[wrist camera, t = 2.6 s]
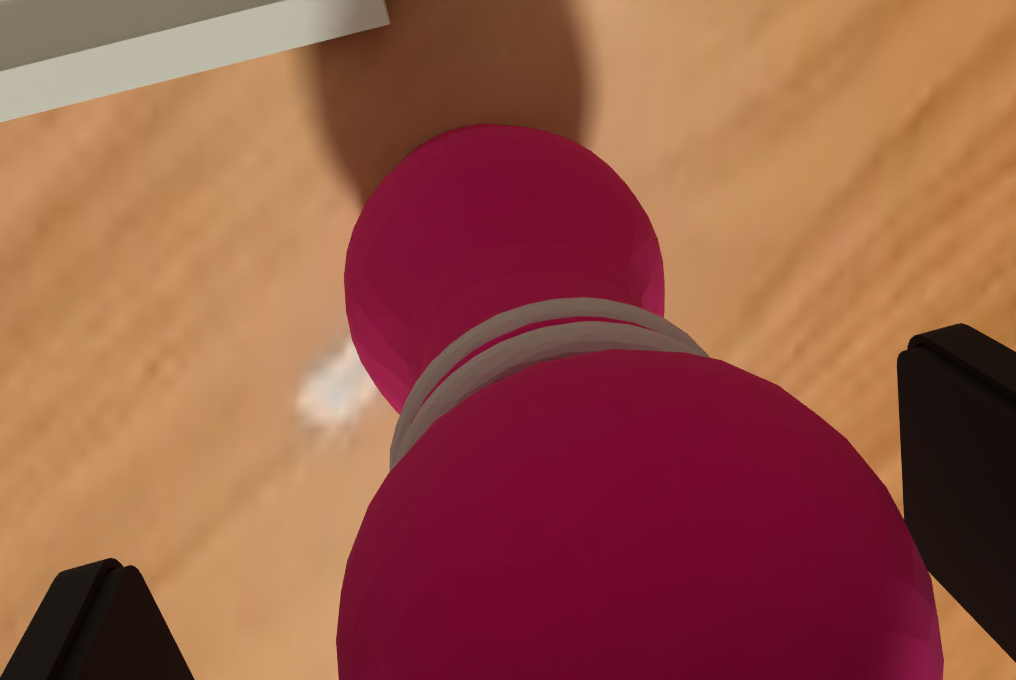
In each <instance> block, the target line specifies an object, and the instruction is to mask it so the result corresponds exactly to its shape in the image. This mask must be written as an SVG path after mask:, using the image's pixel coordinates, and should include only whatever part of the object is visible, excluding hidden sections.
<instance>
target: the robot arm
mask: <svg viewBox="0 0 1016 680" xmlns="http://www.w3.org/2000/svg"><path fill="white" fill-rule="evenodd" d="M897 377H898V398H899V419H900V440H901V461H902V482H903V503H904V521H905V523H906V525H907V527H908V529H909V532H910V534H911V536H912V538H913V540H914V542H915V545H916V547H917V549H918V551H919V553H920V555H921V558H922V560H923V562H924V564H925V566H926V568H927V570H928V571H929V572H930V573H931V575H932V576H933V577H934V578H935V579H936V580H937V581H938V582H939V583H940V584H941V585H942V586H943V587H944V588H945V589H946V590H947V591H948V592H949V593H950V594H951V595H952V596H953V597H954V599H955V600H956V601H957V602H958V603H959V604H960V605H961V606H962V607H963V608H964V609H965V610H966V611H967V612H968V613H969V614H970V615H971V616H972V617H973V618H974V619H975V620H976V622H977V623H978V624H979V625H980V626H981V627H982V628H983V629H984V630H985V631H986V632H987V633H988V634H989V635H990V636H991V637H992V638H993V639H994V640H995V641H996V642H997V643H998V644H999V646H1000V647H1001V648H1002V649H1003V650H1004V651H1005V652H1006V653H1007V654H1008V655H1009V656H1010V657H1011V658H1012V659H1013V660H1014V661H1015V662H1016V352H1015V351H1013V350H1011V349H1010V348H1008V347H1006V346H1004V345H1002V344H1001V343H999V342H997V341H995V340H994V339H992V338H990V337H988V336H986V335H985V334H983V333H981V332H979V331H977V330H976V329H974V328H972V327H970V326H968V325H965V324H962V323H960V324H955V325H951V326H948V327H944V328H940V329H937V330H933V331H929V332H926V333H922V334H919V335H915V336H913V337H912V338H911V339H910V341H909V344H908V348H907V350H905V351H902V352H901V353H900V354H899V356H898V359H897ZM0 680H194V678H193V676H192V674H191V672H190V670H189V668H188V666H187V664H186V662H185V660H184V658H183V656H182V654H181V652H180V650H179V648H178V646H177V644H176V642H175V640H174V638H173V636H172V634H171V632H170V630H169V628H168V626H167V624H166V622H165V620H164V618H163V616H162V614H161V612H160V610H159V608H158V606H157V604H156V602H155V600H154V598H153V596H152V594H151V592H150V590H149V588H148V586H147V584H146V582H145V580H144V578H143V576H142V575H141V573H140V572H139V570H138V569H137V568H136V567H135V566H132V565H129V566H126V567H123V566H122V564H121V563H120V562H119V561H117V560H116V559H113V558H108V559H104V560H101V561H97V562H94V563H90V564H86V565H83V566H79V567H76V568H72V569H68V570H65V571H62V572H60V573H59V574H58V575H57V576H56V578H55V579H54V581H53V582H52V584H51V586H50V588H49V590H48V592H47V593H46V595H45V597H44V599H43V601H42V602H41V604H40V606H39V608H38V610H37V612H36V613H35V615H34V617H33V619H32V621H31V622H30V624H29V626H28V628H27V630H26V632H25V633H24V635H23V637H22V639H21V641H20V642H19V644H18V646H17V648H16V650H15V652H14V653H13V655H12V657H11V659H10V661H9V662H8V664H7V666H6V668H5V670H4V672H3V673H2V675H1V677H0Z"/></svg>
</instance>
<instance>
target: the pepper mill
mask: <svg viewBox="0 0 1016 680" xmlns="http://www.w3.org/2000/svg"><path fill="white" fill-rule="evenodd" d="M344 286H345V302H346V313H347V318H348V322H349V327H350V332H351V337H352V341H353V343H354V346H355V348H356V350H357V353H358V355H359V358H360V360H361V362H362V364H363V366H364V367H365V369H366V371H367V372H368V374H369V376H370V377H371V379H372V380H373V382H374V383H375V385H376V386H377V388H378V389H379V391H380V392H381V394H382V395H383V396H384V397H385V399H386V400H387V401H388V402H389V403H390V404H391V406H392V407H393V408H394V409H395V410H396V412H397V413H399V414H400V417H399V419H398V422H397V425H396V428H395V432H394V436H393V440H392V444H391V448H390V473H389V474H388V475H387V477H386V478H385V480H384V482H383V483H382V485H381V486H380V488H379V490H378V491H377V493H376V495H375V496H374V498H373V499H372V501H371V503H370V504H369V506H368V508H367V511H366V514H365V516H364V519H363V521H362V524H361V527H360V529H359V532H358V534H357V537H356V539H355V542H354V545H353V547H352V550H351V552H350V555H349V558H348V560H347V565H346V570H345V575H344V580H343V585H342V590H341V597H340V607H339V617H338V627H337V636H336V646H337V660H338V674H339V680H943V666H944V659H943V652H942V644H941V637H940V630H939V623H938V616H937V610H936V604H935V598H934V592H933V586H932V580H931V577H930V575H929V573H928V571H927V568H926V566H925V564H924V562H923V560H922V558H921V555H920V553H919V551H918V549H917V547H916V545H915V542H914V540H913V538H912V536H911V534H910V532H909V529H908V527H907V525H906V523H905V521H904V519H903V517H902V515H901V514H900V512H899V510H898V508H897V506H896V504H895V502H894V501H893V499H892V497H891V495H890V493H889V491H888V489H887V488H886V486H885V485H884V484H883V483H882V481H881V480H880V479H879V478H878V476H877V475H876V474H875V473H874V472H873V470H872V469H871V468H870V467H869V465H868V464H867V463H866V462H865V461H864V459H863V458H862V457H861V456H860V454H859V453H858V452H857V451H856V450H855V448H854V447H853V446H852V445H851V444H850V442H849V441H848V440H847V439H846V438H845V437H844V436H843V435H841V434H840V433H839V432H838V431H837V430H835V429H834V428H833V427H832V426H831V425H829V424H828V423H827V422H826V421H824V420H823V419H822V418H821V417H820V416H818V415H817V414H816V413H815V412H813V411H812V410H811V409H809V408H808V407H807V406H805V405H804V404H803V403H801V402H800V401H798V400H797V399H796V398H794V397H793V396H792V395H790V394H789V393H788V392H786V391H785V390H784V389H782V388H781V387H780V386H778V385H776V384H774V383H772V382H769V381H767V380H765V379H763V378H760V377H758V376H756V375H754V374H751V373H749V372H747V371H745V370H742V369H740V368H738V367H735V366H733V365H731V364H729V363H726V362H724V361H722V360H718V359H713V358H710V357H709V356H708V354H707V353H706V352H705V351H704V350H703V349H702V348H701V347H700V346H699V345H698V344H697V343H696V342H695V341H694V340H693V339H692V338H691V337H690V336H689V335H688V334H687V333H685V332H684V331H682V330H681V329H679V328H678V327H676V326H675V325H673V324H672V323H670V322H669V321H667V320H666V319H664V299H665V288H664V270H663V260H662V256H661V252H660V247H659V243H658V239H657V236H656V234H655V232H654V229H653V227H652V224H651V222H650V220H649V217H648V215H647V214H646V212H645V211H644V209H643V208H642V206H641V205H640V203H639V201H638V200H637V198H636V197H635V195H634V194H633V193H632V191H631V190H630V188H629V187H628V186H627V184H626V183H625V182H624V181H623V180H622V179H621V178H620V177H619V175H618V174H617V173H616V172H615V171H614V170H613V169H612V168H611V167H610V166H609V165H608V164H607V163H605V162H604V161H603V160H602V159H600V158H599V157H598V156H596V155H595V154H594V153H593V152H591V151H590V150H588V149H586V148H584V147H582V146H581V145H579V144H577V143H575V142H573V141H571V140H570V139H567V138H564V137H561V136H559V135H556V134H553V133H550V132H547V131H544V130H538V129H532V128H526V127H520V126H506V125H497V124H477V125H470V126H464V127H459V128H456V129H453V130H450V131H448V132H445V133H443V134H440V135H438V136H435V137H434V138H432V139H430V140H429V141H427V142H425V143H424V144H422V145H420V146H419V147H417V148H416V149H415V150H414V151H412V152H411V153H410V154H409V155H408V156H407V157H405V159H404V160H403V161H402V162H401V163H400V164H399V165H398V166H397V167H396V168H395V169H394V170H393V171H392V172H391V173H390V174H389V175H387V176H386V178H385V179H384V180H383V181H382V182H381V184H380V185H379V186H378V188H377V189H376V190H375V192H374V193H373V194H372V195H371V197H370V198H369V199H368V201H367V202H366V204H365V206H364V208H363V210H362V212H361V214H360V216H359V218H358V220H357V222H356V224H355V227H354V229H353V232H352V236H351V239H350V243H349V246H348V249H347V254H346V263H345V272H344Z"/></svg>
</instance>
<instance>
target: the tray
mask: <svg viewBox="0 0 1016 680" xmlns="http://www.w3.org/2000/svg"><path fill="white" fill-rule="evenodd" d="M390 22H391V21H390V18H389V14H388V10H387V6H386V3H385V0H0V122H3V121H7V120H11V119H15V118H19V117H23V116H27V115H31V114H35V113H39V112H43V111H47V110H51V109H55V108H59V107H63V106H67V105H71V104H75V103H79V102H83V101H87V100H91V99H95V98H99V97H103V96H107V95H111V94H115V93H119V92H123V91H127V90H131V89H135V88H139V87H143V86H147V85H151V84H155V83H158V82H162V81H166V80H170V79H174V78H178V77H182V76H186V75H190V74H194V73H198V72H202V71H206V70H210V69H214V68H218V67H222V66H226V65H230V64H234V63H238V62H242V61H246V60H250V59H254V58H258V57H262V56H266V55H270V54H274V53H278V52H282V51H286V50H290V49H294V48H298V47H302V46H306V45H310V44H314V43H318V42H322V41H326V40H330V39H333V38H337V37H341V36H345V35H349V34H353V33H357V32H361V31H365V30H369V29H373V28H377V27H381V26H385V25H389V24H390Z"/></svg>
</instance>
